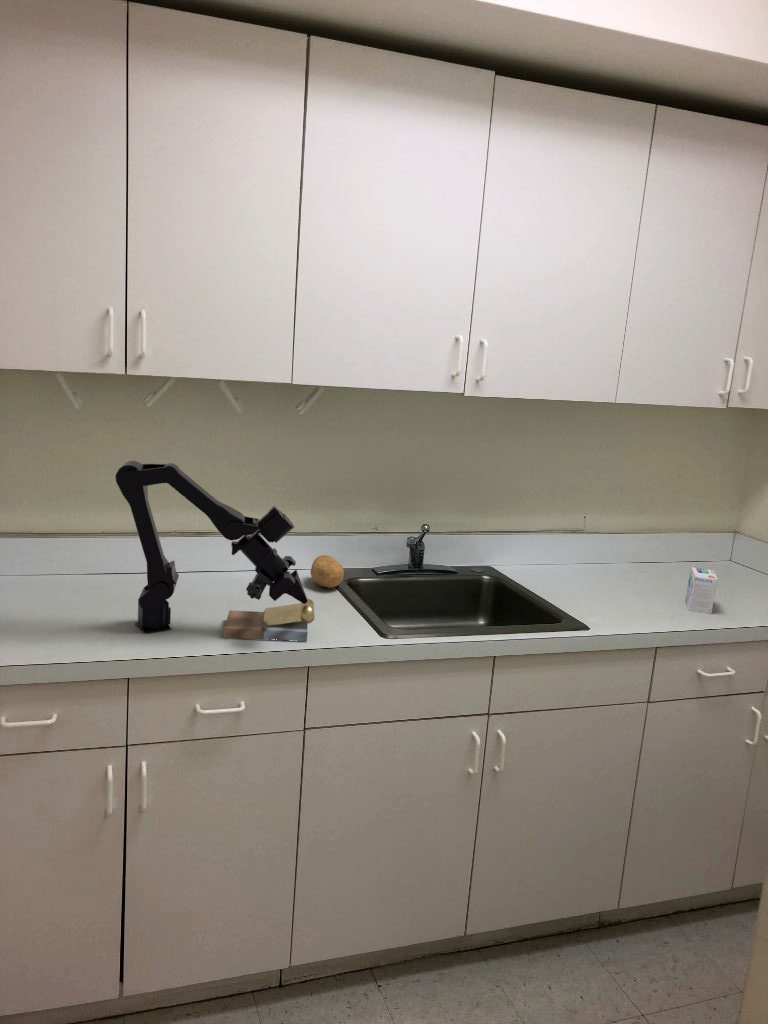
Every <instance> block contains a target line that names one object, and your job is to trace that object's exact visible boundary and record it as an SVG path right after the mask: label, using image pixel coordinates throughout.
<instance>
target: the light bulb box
mask: <svg viewBox="0 0 768 1024" xmlns="http://www.w3.org/2000/svg"><path fill="white" fill-rule="evenodd" d="M689 571H690V572H689V577H688V581H687V582H688V584H687V588H686V592H685V593H686V594H685V598H684V599H685V604H686V608H687V611H690V612H696V613H701V614H702V613H703V614H708V615H709V614H710V615H712V612H713V607H714V602H715V601H714V600H715V596H716V591H717V585H718V580H719V578H718V577H717V575H716V572H715V570H713V569H705V568H699V567H693V566H691V567H690V570H689Z"/></svg>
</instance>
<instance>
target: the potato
mask: <svg viewBox="0 0 768 1024" xmlns="http://www.w3.org/2000/svg"><path fill="white" fill-rule="evenodd" d="M344 574H345V570H344V568H343V565H342V564H341V563H340V562H339V561H338V560H337V559H335V558H334V557H333V556H330V555H328V554H321V555H319V556H317V557H316V558H315V559H314V560H313V562H312V564H311V567H310V576H311V579H312V581H313V582H314V583H316V584H317V585H318V586H319V587H323V588H328V589H332V588H336V587H338V586H339V585H340V583H342V582H343V580H344Z"/></svg>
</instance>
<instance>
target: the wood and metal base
mask: <svg viewBox="0 0 768 1024" xmlns="http://www.w3.org/2000/svg"><path fill="white" fill-rule="evenodd" d="M264 613H265V609H264V610H263V611H252V610H250V611H249V610H233V609H231V610H228V614H227V618H226V622H225V626H224V630H223V631H224V634H223V635H224V637H223V638H224V639H228V638H238V639H237V640H251V639H275V640H276V639H277V640H297V641H307V642H308V624H306V623H304V622H302V621H298V622H291V623H284V624H277V625H271V626H267V625H264ZM297 641H296V642H297Z"/></svg>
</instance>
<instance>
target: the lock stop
mask: <svg viewBox="0 0 768 1024" xmlns="http://www.w3.org/2000/svg"><path fill="white" fill-rule="evenodd" d="M307 600H308V602H307V603H306V604H303V603H302V602H300V603H293V604H287V605H286V604H285V605H279V606H273V607H266V608H264V610H265V613H264V625H267V626H271V625H277V624H284V623H291V622H298V621H302V622H304V623H306V624H307V625H308V624H311V623H312V622H313V621H314V620H315V603H314V601H313V600H312V599H311V598H307Z"/></svg>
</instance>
